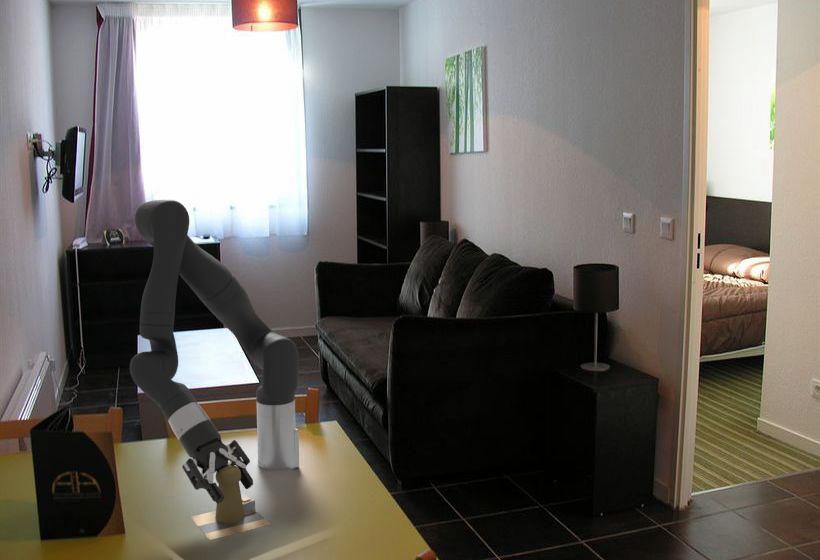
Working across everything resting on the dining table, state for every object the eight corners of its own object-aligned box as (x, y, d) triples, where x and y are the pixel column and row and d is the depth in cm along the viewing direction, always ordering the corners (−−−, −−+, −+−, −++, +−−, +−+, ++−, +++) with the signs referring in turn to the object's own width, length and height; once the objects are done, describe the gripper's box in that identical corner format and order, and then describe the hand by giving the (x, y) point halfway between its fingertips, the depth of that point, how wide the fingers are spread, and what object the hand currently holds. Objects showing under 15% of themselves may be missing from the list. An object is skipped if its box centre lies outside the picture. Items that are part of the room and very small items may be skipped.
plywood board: (249, 508, 182) (248, 502, 181) (270, 529, 172) (270, 524, 171) (190, 522, 175) (190, 516, 174) (209, 545, 165) (209, 539, 165)
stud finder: (242, 501, 182) (242, 491, 182) (255, 509, 178) (255, 498, 178) (230, 505, 180) (230, 495, 180) (243, 513, 176) (242, 503, 176)
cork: (249, 512, 176) (248, 463, 174) (235, 525, 171) (233, 475, 168) (224, 507, 178) (222, 459, 176) (209, 520, 173) (207, 471, 170)
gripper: (176, 429, 167) (219, 497, 163) (227, 410, 179) (269, 472, 174) (159, 449, 170) (201, 515, 166) (210, 429, 182) (250, 490, 178)
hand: (236, 493), depth 170 cm, fingers open, 8 cm apart
